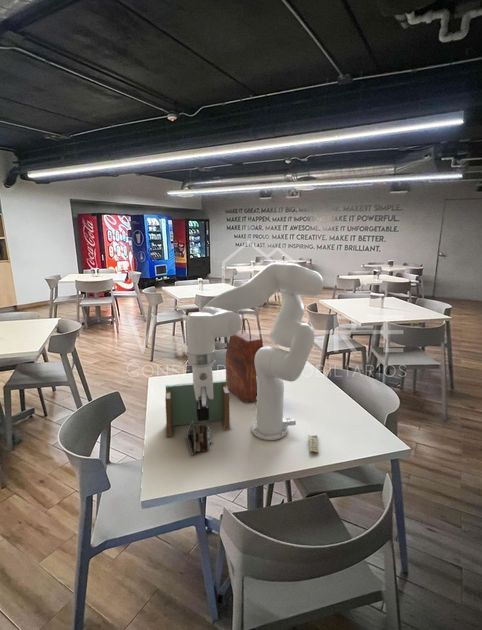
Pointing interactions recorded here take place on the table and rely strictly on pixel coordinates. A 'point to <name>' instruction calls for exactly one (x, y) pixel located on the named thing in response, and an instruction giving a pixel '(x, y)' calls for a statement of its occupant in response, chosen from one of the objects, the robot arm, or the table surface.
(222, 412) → the cubby shelf
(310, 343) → the robot arm
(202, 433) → the chocolate cake
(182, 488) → the table surface
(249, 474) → the table surface
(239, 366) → the handbag
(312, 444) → the snack bar
